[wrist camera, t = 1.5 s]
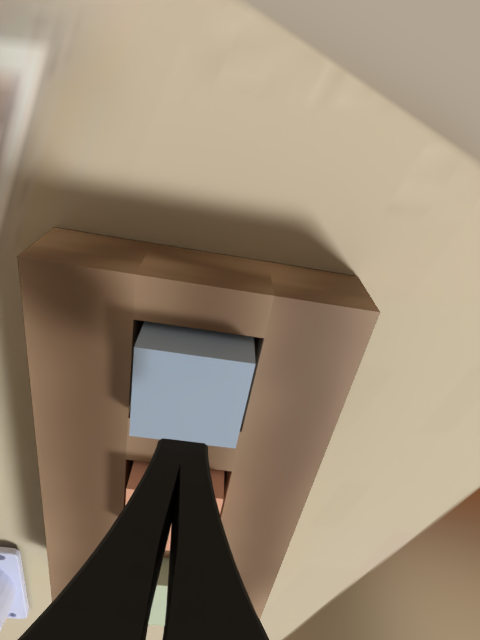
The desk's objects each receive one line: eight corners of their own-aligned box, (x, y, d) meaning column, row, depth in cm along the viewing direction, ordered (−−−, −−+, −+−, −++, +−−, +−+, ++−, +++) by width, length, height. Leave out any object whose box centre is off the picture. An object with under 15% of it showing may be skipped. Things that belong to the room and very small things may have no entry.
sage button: (128, 576, 24) (118, 622, 22) (131, 535, 22) (121, 582, 20) (196, 581, 25) (192, 627, 22) (205, 542, 23) (202, 589, 21)
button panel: (71, 558, 26) (53, 610, 24) (53, 227, 16) (17, 256, 13) (254, 575, 27) (256, 626, 25) (357, 276, 17) (380, 312, 14)
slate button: (142, 393, 17) (129, 435, 15) (147, 311, 15) (134, 347, 13) (235, 405, 18) (235, 448, 16) (253, 326, 16) (255, 363, 14)
